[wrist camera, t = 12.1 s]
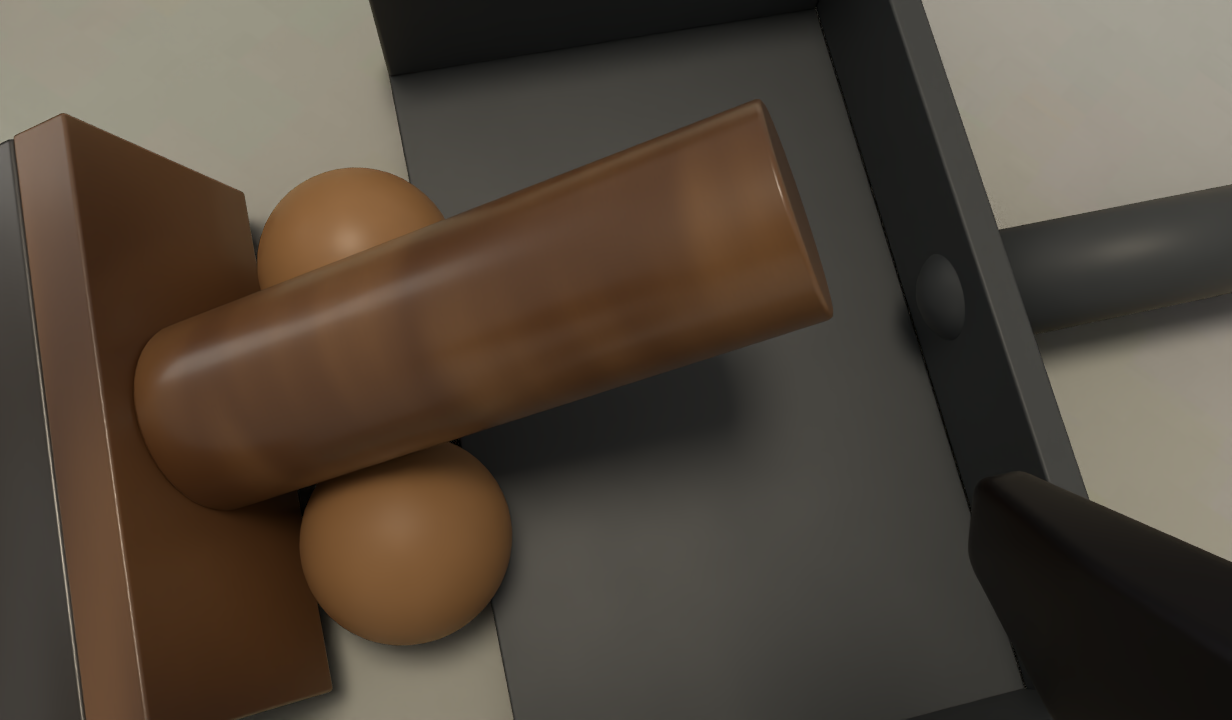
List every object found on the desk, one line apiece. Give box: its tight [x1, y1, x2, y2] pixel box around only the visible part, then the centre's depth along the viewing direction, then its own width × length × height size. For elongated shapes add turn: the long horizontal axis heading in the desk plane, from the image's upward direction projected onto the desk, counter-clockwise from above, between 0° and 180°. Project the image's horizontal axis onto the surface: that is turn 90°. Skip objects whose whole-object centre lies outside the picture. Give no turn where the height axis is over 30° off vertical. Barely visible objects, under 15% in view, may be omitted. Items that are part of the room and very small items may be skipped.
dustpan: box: [369, 0, 1232, 720], centre depth 18 cm, size 19×15×3 cm
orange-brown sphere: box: [299, 442, 512, 645], centre depth 16 cm, size 3×3×3 cm
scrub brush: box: [0, 99, 833, 720], centre depth 15 cm, size 9×4×12 cm
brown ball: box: [257, 168, 445, 290], centre depth 18 cm, size 3×3×3 cm
